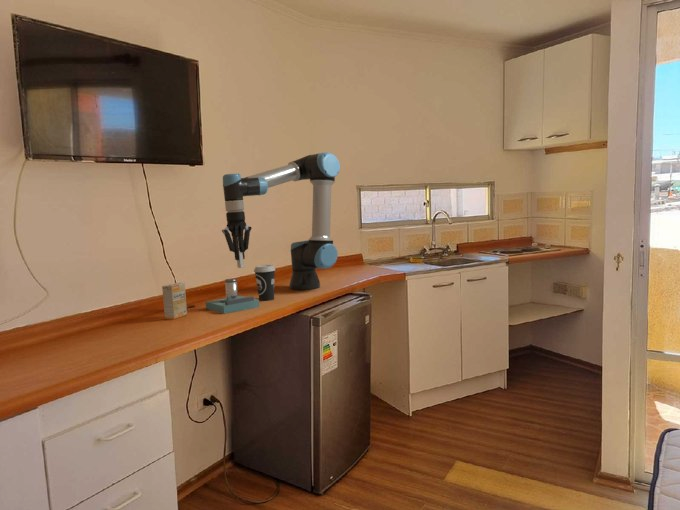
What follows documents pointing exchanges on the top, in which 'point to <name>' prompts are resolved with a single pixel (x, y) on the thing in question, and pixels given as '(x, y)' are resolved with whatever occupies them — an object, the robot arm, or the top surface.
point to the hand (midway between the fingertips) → (240, 267)
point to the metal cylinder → (231, 289)
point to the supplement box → (174, 300)
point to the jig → (232, 304)
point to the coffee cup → (265, 281)
